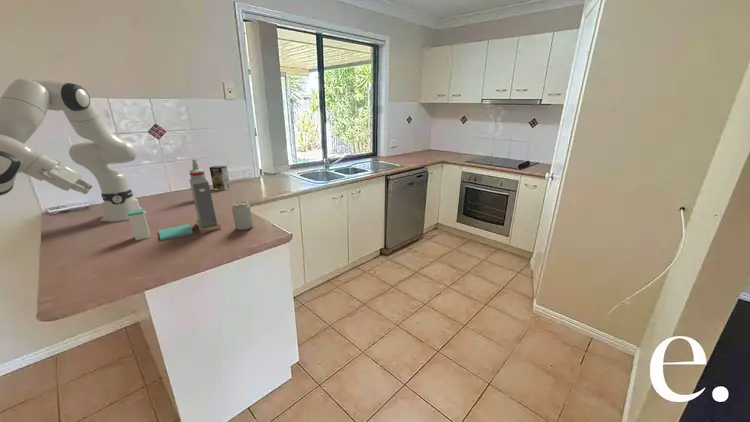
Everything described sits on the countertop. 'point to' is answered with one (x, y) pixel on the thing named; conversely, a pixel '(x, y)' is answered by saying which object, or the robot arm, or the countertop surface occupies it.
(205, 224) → the mounted unit
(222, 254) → the countertop surface
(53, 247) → the countertop surface
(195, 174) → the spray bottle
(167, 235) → the pad
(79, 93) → the robot arm
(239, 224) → the can
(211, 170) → the coffee box
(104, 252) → the countertop surface
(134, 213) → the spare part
